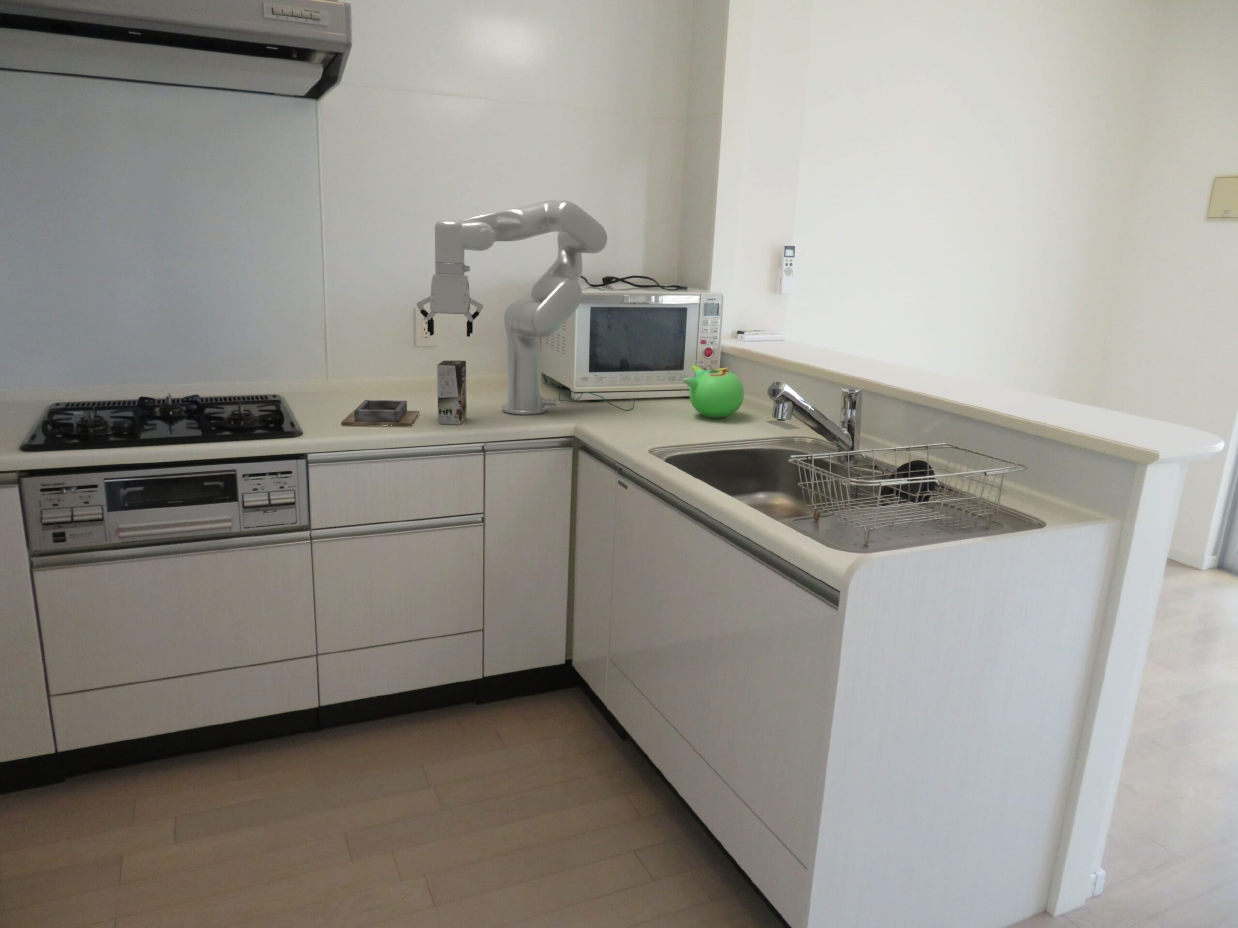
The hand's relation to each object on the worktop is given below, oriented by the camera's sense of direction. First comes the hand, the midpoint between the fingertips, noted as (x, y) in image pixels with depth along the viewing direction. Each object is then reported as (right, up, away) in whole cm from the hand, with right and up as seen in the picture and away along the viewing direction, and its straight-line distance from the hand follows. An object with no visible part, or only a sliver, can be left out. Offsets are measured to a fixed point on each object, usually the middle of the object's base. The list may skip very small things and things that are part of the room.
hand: (450, 335), depth 239 cm
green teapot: (+72, -21, +23) cm, 79 cm away
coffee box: (-1, -23, +6) cm, 24 cm away
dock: (-19, -22, +5) cm, 30 cm away
